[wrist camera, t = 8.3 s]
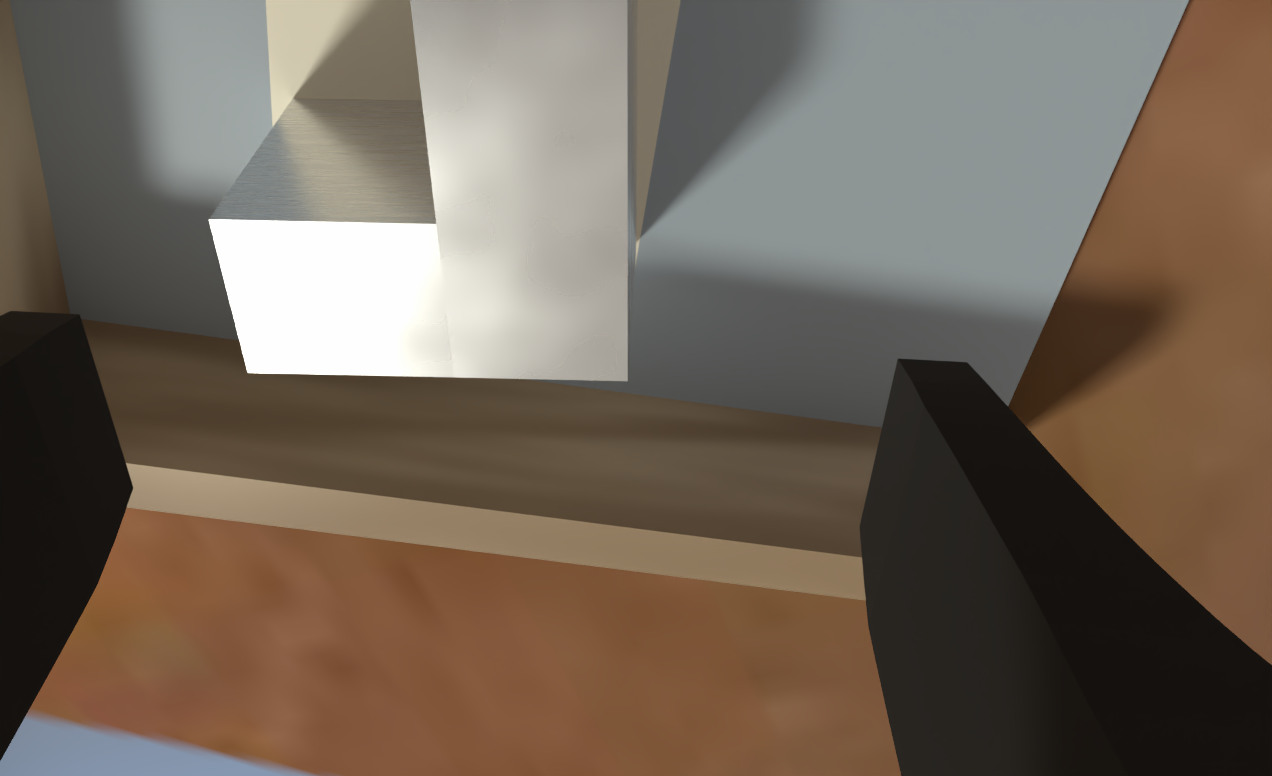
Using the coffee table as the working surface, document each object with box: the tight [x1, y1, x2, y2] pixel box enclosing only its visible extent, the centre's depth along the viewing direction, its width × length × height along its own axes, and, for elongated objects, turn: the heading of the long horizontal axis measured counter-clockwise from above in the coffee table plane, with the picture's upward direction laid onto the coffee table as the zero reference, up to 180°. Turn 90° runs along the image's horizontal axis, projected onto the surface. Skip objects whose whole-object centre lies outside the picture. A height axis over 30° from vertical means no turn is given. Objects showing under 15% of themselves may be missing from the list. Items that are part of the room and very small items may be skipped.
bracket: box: [209, 0, 638, 381], centre depth 16 cm, size 6×6×4 cm
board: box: [10, 0, 1189, 428], centre depth 17 cm, size 13×18×1 cm
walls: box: [0, 0, 882, 600], centre depth 16 cm, size 14×18×4 cm
